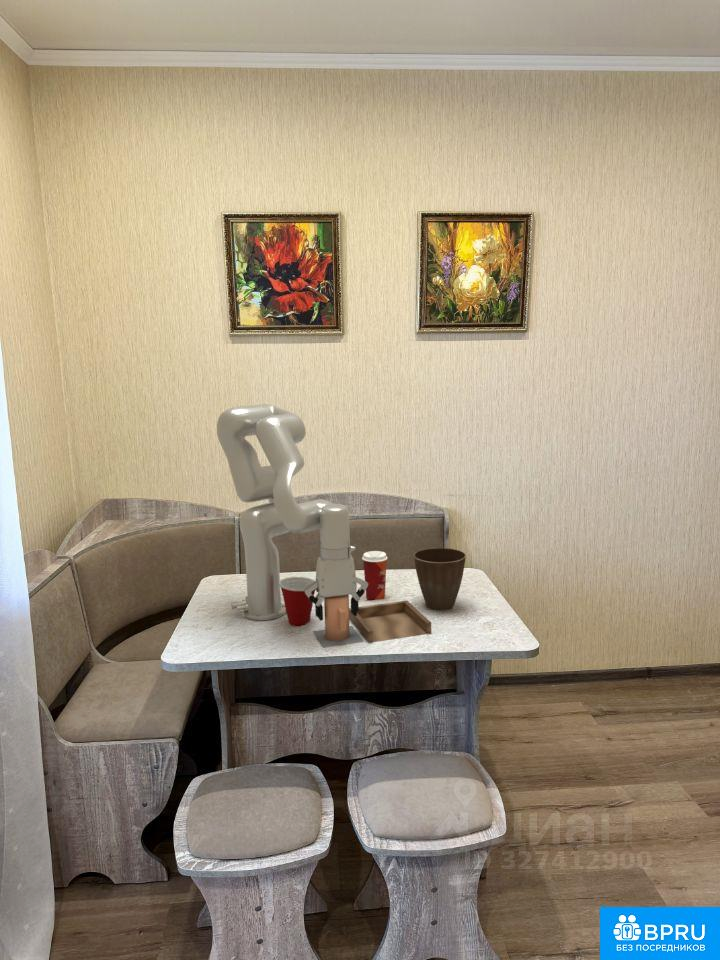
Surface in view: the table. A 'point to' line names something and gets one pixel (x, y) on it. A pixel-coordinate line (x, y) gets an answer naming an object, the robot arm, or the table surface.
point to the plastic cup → (297, 599)
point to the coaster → (325, 642)
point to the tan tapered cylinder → (337, 618)
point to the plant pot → (439, 576)
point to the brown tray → (390, 621)
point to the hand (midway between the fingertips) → (337, 616)
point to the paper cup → (375, 574)
